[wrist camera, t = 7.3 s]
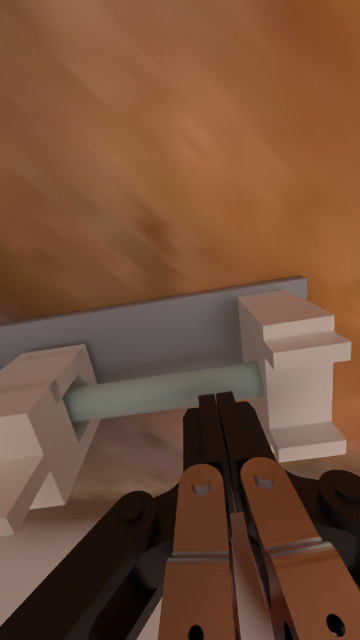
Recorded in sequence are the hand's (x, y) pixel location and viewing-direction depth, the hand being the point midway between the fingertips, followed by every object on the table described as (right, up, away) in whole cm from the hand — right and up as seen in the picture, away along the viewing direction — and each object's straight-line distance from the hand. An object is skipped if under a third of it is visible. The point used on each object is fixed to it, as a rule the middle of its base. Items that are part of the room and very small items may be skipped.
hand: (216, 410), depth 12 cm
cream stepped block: (-9, 0, +5) cm, 10 cm away
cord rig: (-6, +1, +7) cm, 9 cm away
